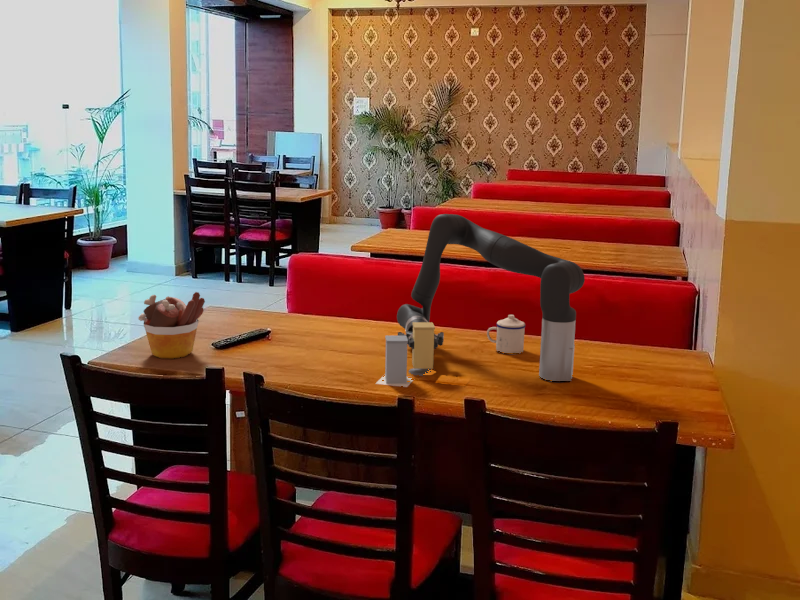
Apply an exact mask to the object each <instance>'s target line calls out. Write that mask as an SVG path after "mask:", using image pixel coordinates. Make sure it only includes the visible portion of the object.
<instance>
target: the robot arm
mask: <svg viewBox="0 0 800 600" xmlns="http://www.w3.org/2000/svg"><path fill="white" fill-rule="evenodd" d="M427 237H428V238H427V242H426V246H425V249H424V250H425V251H424V255H423V259H422V264H421V266H420V269H419V270H420V271H419V273H418V276H417V278H416V281H415V283H414V286H413V289H412V290H411V293H410V294H411V295H410V297H411V299H412V300H413V301H414V302H416V303H418V304H420V305H421V306H422V307H421V308H420V306H419V307H418V306H415V305H412V304H408V303H405V304H402V305H401V306H400V307H399V308H398V310H397V314H396V320H397V324H398V325H399V326H401V327H402V328H404V330H405V333H404V332H401V331H397V336H407V339H408V343H407V347H409V348H411V350H412V349H414V339H413V325H412V324H413V322H430V318H431V307H432V303H433V299H434V297H435V294H436V292H437V290H438V287H439V285H440V280H441V259H442V256H443V252H444V251H445V249H446V247H447V245H459V246H463V247H466V248H470V249H472V250H474V251H475V252H477V253H478V254H480V256H481V257H482V258H483V259H484V260H485V261H487V262H488V263H490V264H491V265H493V266H496V267H498V268H500V269H503V270H505V271H508V272H512V273H516V274H520V275H527V276H533V277H536V278H539V279H540V282H539V283H540V285H539V287H540V288H539V290H540V292H539V295H540V296H539V297H540V298H539V302H540V303H539V304H540V308H541V313H542V319H541V333H540V336H541V337H540V351H539V352H540V353H539V368H538V371H539V372H538V376H540V377H541V378H543V379H546V380H552V381H571V382H572V380H571V379H573V376H572V375H573V373H574V359H575V358H574V357H575V338H576V337H575V334H576V322H577V321H576V320H577V311H576V309H575V308H573V307H572V306H571V304H570V295H571V294H574V293H576V292H578V291H579V290H580V289H581V288H582V287H583V286H584V284H585V279H586V277H585V273H584V271H583V269H582V268H581V266H579V264H577V263H576V262H573V261H571V260H567V259H564V258H560V257H557V256H554V255H550V254H547V253H545V252H542V251H540V250H538V249H537V248H534V247H532V246H530V245H528V244H525V243H523V242H520V241H519V240H516V239H514V238H512V237H510V236H507V235H504V234H502V233H499V232H497V231H494V230H490V229H487V228H484V227H482V226H480V225H478V224H476V223H474V221H471V220H469V219H468V218H466V217H464V216H462V215H459V214H455V213H454V214H453V213H450V214H449V213H443V214H438V215H436V216H435V217H434V218H433V220H432V222H431V225H430V228H429V232H428V236H427ZM444 334H445V332H443V331H441V332H439V333H437V334H436V333H435V332H434V350H436V349H437V348H439V346H443V345H444V342H445V341H444V339H445V338H444V337H445V336H444ZM540 377H539V378H540ZM541 378H540V379H541ZM543 379H542V380H543ZM546 380H545V381H546ZM552 381H551V382H552Z"/></svg>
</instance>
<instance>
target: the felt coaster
mask: <svg viewBox="0 0 800 600" xmlns="http://www.w3.org/2000/svg"><path fill="white" fill-rule="evenodd" d="M429 370H431V369H429ZM429 370H428V369H414V368H413V367H412V368H410V369H409V370H408V374H410V373H411V374H410V375H412V374H413V375H412V376H417V375H419V376H420V377H424V376H423V374H425V372H426V373H428V372H427V371H429ZM430 372H431V371H430ZM419 376H418V377H419Z"/></svg>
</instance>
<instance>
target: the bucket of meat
mask: <svg viewBox="0 0 800 600" xmlns="http://www.w3.org/2000/svg"><path fill="white" fill-rule="evenodd" d="M156 299H157V295H156V294H152V295H150V296H149V298H147V299H145V300H144V301H143V304H144V305H146V308H144V309H143V313H140V315H139V316H138V317H137V319H138V320H139V321H140V322H143V328H144V330H145V333H146V338H147V340H148V341H147V342H148V345H149V347H150V348H149V349H150V351H151V354H152V355H153V357H156V358H159V359H161V360H162V359H163V360H164V359H166V360H168V359H169V360H170V359H172V360H173V359H174V358H175V359H180V357H181V358H185V357H187V356H188V354H189V355H190V354H191V353H192V352H193V350H194V346H195V342H196V335H197V330H198V325H199V318H200V317H201V316H202V315H203V313H204V311H205V309H204V305H205V302H206V301H205V300H206V299H205V298H204V297H201V295H200V292H198V291H195V292H193V295H192V298H191V300H189V301H188V302H187V304H186V303H185V302H184V301H182V300H181V299H180V298H177V297H173V296H166V297H165V298H164V299H160V300H158V301H156ZM175 359H174V360H175Z"/></svg>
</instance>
